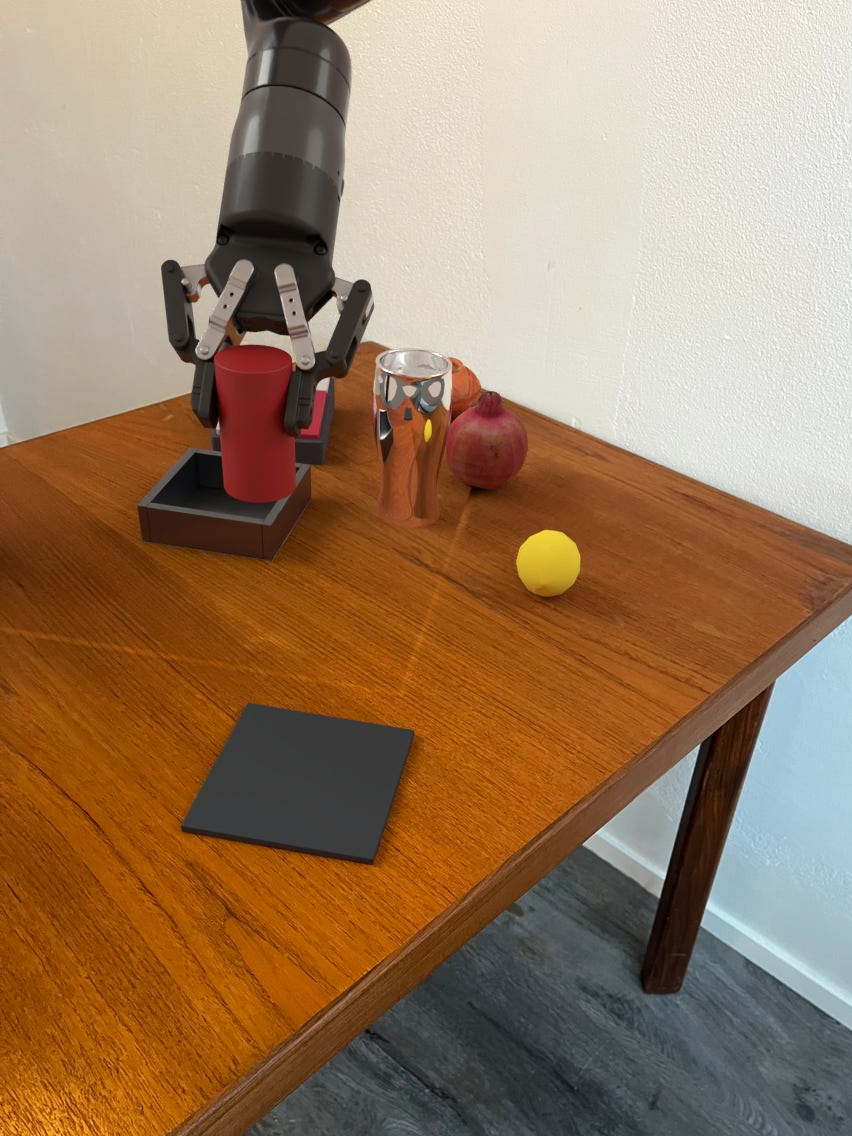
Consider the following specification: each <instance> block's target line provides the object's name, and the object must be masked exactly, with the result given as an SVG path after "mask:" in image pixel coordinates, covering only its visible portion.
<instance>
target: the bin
mask: <svg viewBox="0 0 852 1136" xmlns="http://www.w3.org/2000/svg"><path fill="white" fill-rule="evenodd" d="M295 465H296V488H295V490H294V492H293V493H292V494H291V495H289V496H287V497H285V498H283V499H281V500H277V501H273V502H265V503H254V502H246V501H242V500H239V499H236V498H234V497H232V496H230V495H229V494H228V493H227V492H226V490H225V488H224V480H223V467H222V454H221V452H218V451H212V449H204V448H197V447H189V448H188V449H187V450H186V452H184V453H183V455H182V456H181V457H180V458H179V459H178V460H177V461H176V462H175V463H174V465H172V466H171V468H169V470H168V471H167V472H166V473H165V474H164V475H163V477H161V479H160V480H159V481H158V482H157V483H156V484H155V485H154V486H153V488H151V489H150V491H149V492H148V493H147V494H146V495H145V496H144V497H143V498H142V499H141V500H140V501H139V502H138V504H137V505H136V506H137V514H138V522H139V529H140V534H141V541H142V542H143V543H148V544H149V543H150V544H156V545H161V546H162V545H163V546H169V547H174V548H175V547H176V548H182V549H188V550H196V551H201V552H209V553H215V554H221V555H228V556H235V557H241V558H247V559H254V560H262V561H267V562H273V561H274V559H275V558H276V556H277V555H278V553H279V552H280V550H281V549H282V547H283V545H284V544H285V542H286V541H287V539H288V537H289V536H290V534H291V532H292V531H293V529H294V528H295V526H296V525H297V523H298V521H299V519H300V518H301V516H302V515H303V514H304V512H305V510H306V509H307V507H308V505H309V504H310V502H311V501H312V466H311V465H312V464H301V463H295Z"/></svg>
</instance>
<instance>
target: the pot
mask: <svg viewBox="0 0 852 1136" xmlns="http://www.w3.org/2000/svg"><path fill="white" fill-rule="evenodd" d="M447 358H448V359H449V360H450V361H451V362H452V412H457V411H459V412H460V414H462V413H463V412H465V411H466V410H468V409H470V408H472V407H473V402H474V401H475V400H476V399H477V398H478V397H479V396H480V393H481V391H482V385H481V382H480V379H479V378H478V376H477V375H476V374H475V373H474V372H473V370H472V369H470V368H469V367H467V366H466V365H464V363H463V361H461V360H460V359H458V358H456V357H452V356H448V357H447ZM452 412H451V413H452Z"/></svg>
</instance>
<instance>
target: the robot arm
mask: <svg viewBox="0 0 852 1136" xmlns="http://www.w3.org/2000/svg"><path fill="white" fill-rule="evenodd" d="M372 1H373V0H240V1H239V2H240V8H241V16H242V26H243V33H244V40H245V45H246V50H247V51H246V52H247V59H246V64H245V68H244V69H245V71H244V77H243V83H242V89H241V90H242V92H241V98H240V103H239V109H238V113H237V117H236V119H235V122H234V125H233V129H232V133H231V137H230V142H229V143H230V144H229V147H228V148H229V150H228V154H227V156H228V157H227V161H226V169H225V174H224V181H223V189H222V196H221V202H220V208H219V215H218V221H217V228H216V237H215V244H214V246H213V249H212V250H211V252H210V253H209V254H208V256H207V257H206V259H205V261H204V263H200V264H194V265H185V266H181V265H180V263H179V262H178V261H177V260H175V259H167V260H165V261H164V262H163V263H161V266H160V272H161V282H162V290H163V291H162V292H163V299H164V310H165V319H166V327H167V336H168V342H169V343H170V345H171V347H172V348H173V350H174V351H175V353H176V355H177V356H178V357H179V359H180V360H181V361H182V362H183V363H185V364H192V365H194V366H195V367H194V373H193V381H192V388H191V394H190V399H189V403H190V408H191V410H192V412H193V414H194V415H195V416H196V418H197V419H198V421H199V422H200V424H201V425H202V427H203V428H204V429H212V430H213V429H216V428H217V424H218V417H219V416H218V403H217V391H216V378H215V365H214V357H215V355H216V354H217V353H218V352H219V351H221V350H223V349H226V348H229V347H233V346H238V345H241V343H242V341H243V340H244V338H245V336H246V334H247V333H261V332H270V333H273V334H275V335H278V336H285V337H289V338H290V339H289V340H290V343H291V347H292V350H293V355H294V356H293V357H294V359H295V360H294V361H295V370H293V371H291V375H290V382H289V389H288V397H287V404H286V412H285V419H284V428H285V431H286V433H287V435H288V436H289V437H298V438H300V435H301V429H307V430H308V429H309V427H310V425H311V423H312V419H313V411H314V403H315V396H316V388H317V385H318V383H319V382H320V381H321V380H323V379H325V378H329V377H332V378H334V379H339V380H340V379H344V378H345V377H347V376H348V374H349V372H350V370H351V367H352V364H353V363H354V362H353V361H354V360H355V357H356V354H357V351H358V350H359V347H360V344H361V341H362V339H363V337H364V334H365V332H366V329H367V327H368V325H369V322H370V320H371V317H372V314H373V313H374V310H375V301H374V299H375V298H374V294H373V290H372V285H371V284H370V281H368V280H366V279H362V278H361V279H356V281H354V282H351V281H349V280H346V279H342V278H340V277H337V276H336V272H335V270H334V267H333V261H334V260H333V259H334V251H335V245H336V238H337V237H336V236H337V230H338V229H337V228H338V221H339V214H340V207H341V198H342V197H343V194H344V189H345V178H344V177H345V167H346V147H345V146H346V132H347V125H348V116H349V111H350V108H349V107H350V102H351V95H352V94H351V93H352V83H353V65H352V57H351V54H350V51H349V48H348V47H347V45H346V42H345V41H344V40H343V38H342V37H341V36H340V35H339V34H338V33H337V32H336V31H335V30H334V29H333V28H331V27H330V25H332V24H334V23H335V22H337V21H339V20H341V19H343V18H344V17H346V16H348V15H350V14H351V13H353V12H355V11H356V10H359V9H360V8H363V7H364V6H366V5H367V4H369V3H370V2H372ZM207 285H210V286H211V288H212V290H213V292H214V293H215V295H216V297H217V298H218V299H217V301H216V303H215V305H214V307H213V309H212V310H211V312H210V314H209V317H208V324H207V326H206V328H205V330H204V332H203V334H202V335H201V337H200V339H198V338H197V336H196V328H195V327H196V326H195V316H194V309H193V304H195V303H197V302H199V300H200V298H201V296H202V290H203V288H204V287H205V286H207ZM332 298H335V299H336V308H337V311H338V314H339V318H338V320H337V323H336V326H335V328H334V330H333V332H332V334H331V337H330V340H329V342H328V345H327V347H326V349H325V350H321V351H318V352H316V350H315V346H314V340H313V337H312V332H311V328H310V323H309V322H310V321H311V320H312V319H313V318H314V317H315V316H316V315H317V314H318V313H319V312H320V311H321V310H322V309H323V307H325V306H326V305H327V304H328V303H329V301H331V300H332Z"/></svg>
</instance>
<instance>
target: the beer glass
mask: <svg viewBox="0 0 852 1136" xmlns="http://www.w3.org/2000/svg"><path fill="white" fill-rule="evenodd" d="M374 367H375V368H374V377H373V386H372V402H371V403H372V404H371V411H372V413H371V414H372V415H371V417H372V428H373V436H374V443H375V449H376V454H377V456H376V457H377V461H378V469H379V489H378V494H377V499H376V504H375V507H374V512H375V515H376V517H377V518H378V519H379V520H380V521H381V522H383V523H385V524H387V525H390V526H392V527H397V528H402V529H403V528H404V529H417V528H423V527H427V526H429V525H432V524H433V523H435V522H437V521H438V519H439V518H440V515H441V510H440V503H439V497H438V487H439V486H438V481H439V475H440V470H441V467H442V462H443V458H444V454H445V452H446V443H447V439H448V433H449V428H450V425H451V423H452V422H451V420H452V362H451V361H450V360H449V359H448V357H447V356H446V355H444V354H442V353H439V352H437V351H433V350H429V349H426V348H425V349H424V348H416V347H400V348H392V349H388V350H385V351H383V352H380V353H379V354H378V355H377V356H376V357H375V366H374Z"/></svg>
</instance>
